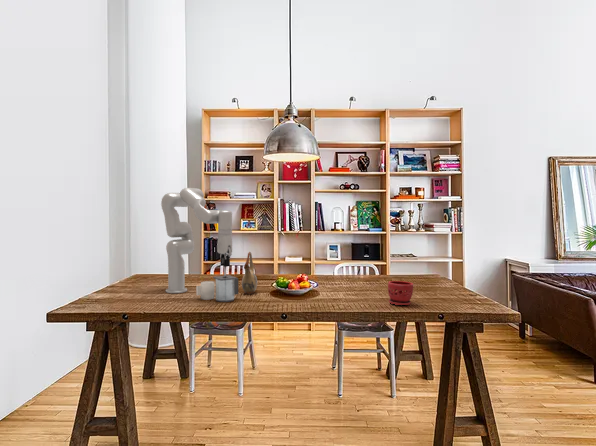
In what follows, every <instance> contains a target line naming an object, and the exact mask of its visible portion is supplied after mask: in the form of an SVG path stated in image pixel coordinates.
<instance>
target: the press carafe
mask: <svg viewBox="0 0 596 446" xmlns="http://www.w3.org/2000/svg"><path fill="white" fill-rule="evenodd" d="M212 279H215V302H217V303H218V302H219V303H230V302H234V300H235V296H237V295H239V278H238V277H236V276H233V275H230V274H228V275H227V274H226V278H224V275H217V276H213V277H212Z"/></svg>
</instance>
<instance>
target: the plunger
mask: <svg viewBox="0 0 596 446" xmlns="http://www.w3.org/2000/svg"><path fill="white" fill-rule="evenodd" d="M224 259H225V258H222V264H224ZM223 268H224V269H223V276H224V278H226V275H227V267H224V266H223Z"/></svg>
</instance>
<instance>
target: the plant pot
mask: <svg viewBox="0 0 596 446" xmlns="http://www.w3.org/2000/svg"><path fill="white" fill-rule="evenodd" d="M387 290H388V292H387V293H388V297H389V299H388V302H389V304H390V303H391V305H392V304H395V305H408V306H409V304H410V305H411V303H412V301H411V299H412V298H413V297H412V296H413V293H414V283H413V282H411V281H410V282H409V281H403V280H391V281H389V280H388V283H387ZM395 305H394V306H395Z"/></svg>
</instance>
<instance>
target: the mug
mask: <svg viewBox="0 0 596 446" xmlns="http://www.w3.org/2000/svg"><path fill="white" fill-rule="evenodd" d="M195 288H196V289H195V291H196V294H195V295H196V296H200V300H205V301H208V300H213V299H215V281H211V280H206V281H201V282H200V285H196V287H195Z"/></svg>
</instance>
